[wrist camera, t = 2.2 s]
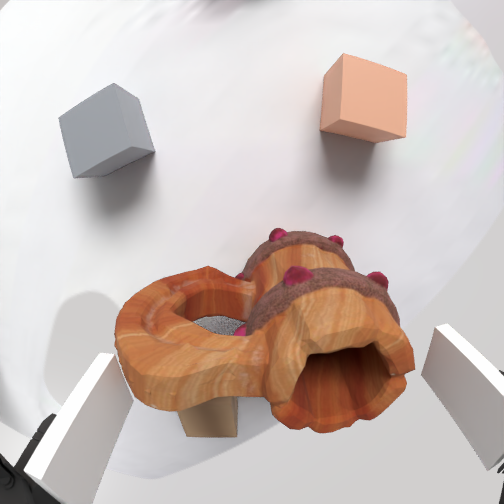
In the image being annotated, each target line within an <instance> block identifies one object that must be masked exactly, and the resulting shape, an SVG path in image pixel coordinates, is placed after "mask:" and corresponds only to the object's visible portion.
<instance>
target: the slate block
mask: <svg viewBox="0 0 504 504" xmlns="http://www.w3.org/2000/svg"><path fill="white" fill-rule="evenodd" d="M59 123H60V127H61V132H62V136H63V141H64V145H65V149H66V153H67V157H68V161H69V164H70V168H71V171H72V175H73V178H84V177H99V176H106V175H108V174H110V173H112V172H114V171H116V170H118V169H120V168H122V167H124V166H126V165H128V164H130V163H132V162H134V161H136V160H138V159H140V158H142V157H144V156H146V155H149V154H151V153H153V152H155V149H154V146H153V143H152V140H151V137H150V134H149V130H148V127H147V124H146V121H145V118H144V114H143V111H142V108H141V104H140V101H139V99H138V98H137V97H135V96H134V95H132V94H131V93H129V92H127V91H126V90H124V89H123V88H121V87H120V86H118V85H117V84H115V83H113V84H111V85H109V86H107V87H106V88H104V89H102V90H100V91H99V92H97V93H95V94H94V95H92V96H91V97H89V98H87V99H86V100H84V101H83V102H81V103H79V104H78V105H76V106H75V107H73V108H72V109H71V110H69V111H68V112H66V113H65V114H63V115H62V116H61V117H59Z"/></svg>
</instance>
